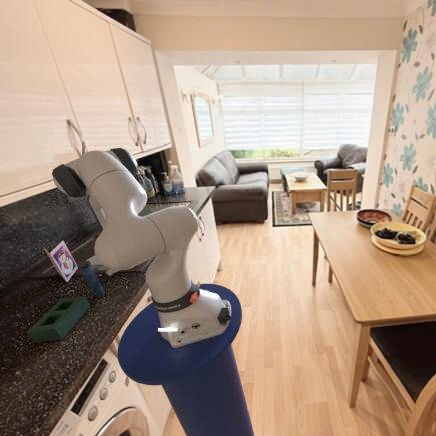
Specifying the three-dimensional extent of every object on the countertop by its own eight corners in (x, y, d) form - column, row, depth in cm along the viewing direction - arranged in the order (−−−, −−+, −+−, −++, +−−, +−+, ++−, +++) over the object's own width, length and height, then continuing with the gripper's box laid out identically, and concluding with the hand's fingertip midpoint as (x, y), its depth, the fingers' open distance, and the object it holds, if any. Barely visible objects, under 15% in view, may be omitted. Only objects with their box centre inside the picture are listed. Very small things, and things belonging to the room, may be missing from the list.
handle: (108, 290, 96) (92, 260, 89) (102, 297, 92) (85, 266, 86) (98, 292, 96) (81, 261, 89) (92, 298, 92) (74, 267, 86)
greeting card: (69, 281, 103) (52, 252, 96) (48, 286, 100) (29, 257, 94) (80, 267, 112) (65, 239, 106) (61, 271, 110) (44, 243, 104)
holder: (90, 305, 89) (84, 295, 87) (62, 339, 76) (54, 328, 74) (67, 308, 88) (61, 298, 86) (35, 343, 75) (26, 332, 73)
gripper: (96, 248, 104) (67, 268, 92) (140, 247, 102) (117, 267, 90) (101, 260, 107) (74, 281, 94) (144, 259, 105) (123, 280, 93)
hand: (95, 274), depth 92 cm, fingers open, 8 cm apart
